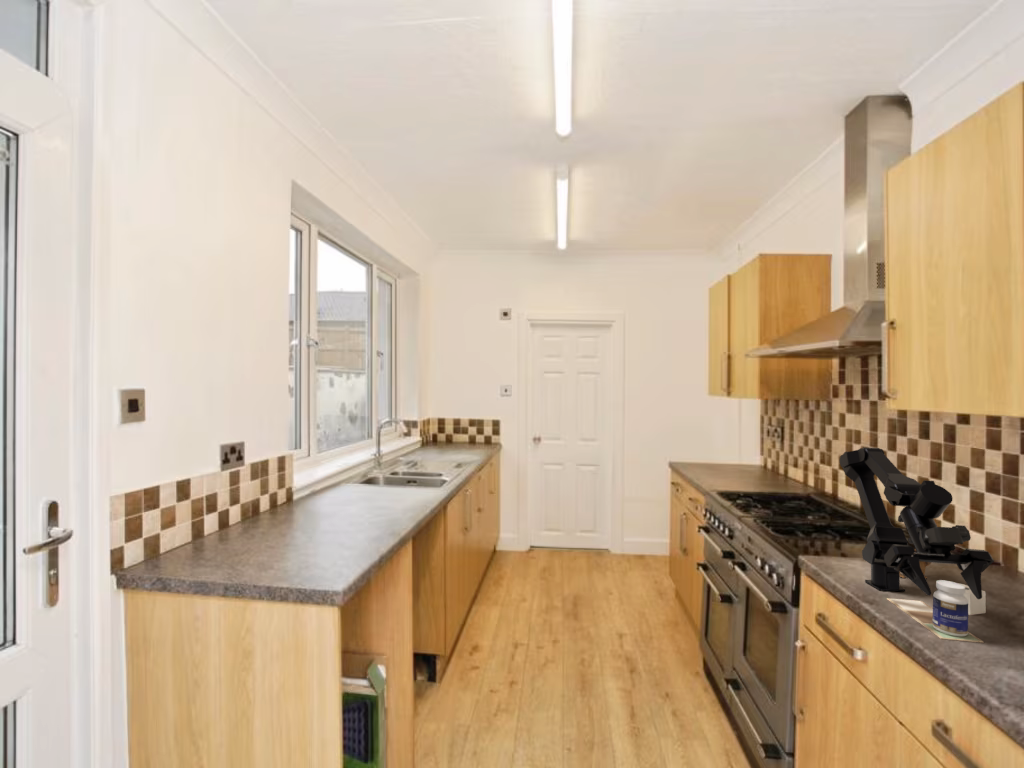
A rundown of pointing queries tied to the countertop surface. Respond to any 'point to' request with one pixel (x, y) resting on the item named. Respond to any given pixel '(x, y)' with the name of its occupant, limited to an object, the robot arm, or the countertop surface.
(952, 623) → the pill bottle
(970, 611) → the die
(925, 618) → the game board
